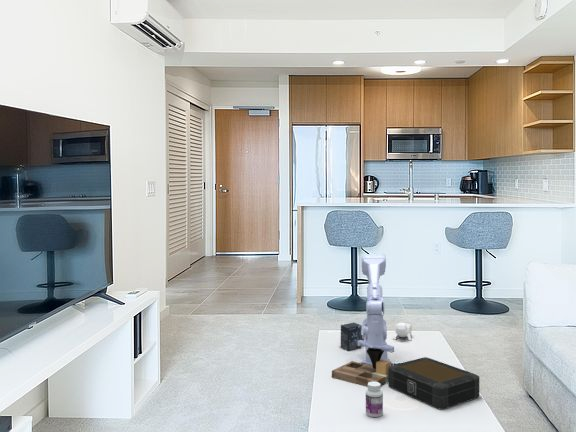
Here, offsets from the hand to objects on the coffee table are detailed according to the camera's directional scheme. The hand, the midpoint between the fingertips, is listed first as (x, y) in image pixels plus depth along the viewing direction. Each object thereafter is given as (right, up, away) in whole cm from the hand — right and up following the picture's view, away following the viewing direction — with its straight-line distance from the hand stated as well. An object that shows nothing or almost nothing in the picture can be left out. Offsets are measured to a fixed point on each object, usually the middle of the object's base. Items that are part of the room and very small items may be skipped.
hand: (375, 367), depth 194 cm
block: (+3, -1, -2) cm, 4 cm away
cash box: (+17, -4, -15) cm, 23 cm away
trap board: (-5, -4, 0) cm, 6 cm away
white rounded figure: (+21, -1, +51) cm, 55 cm away
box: (-5, -2, +37) cm, 37 cm away
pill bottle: (-6, -5, -32) cm, 33 cm away
